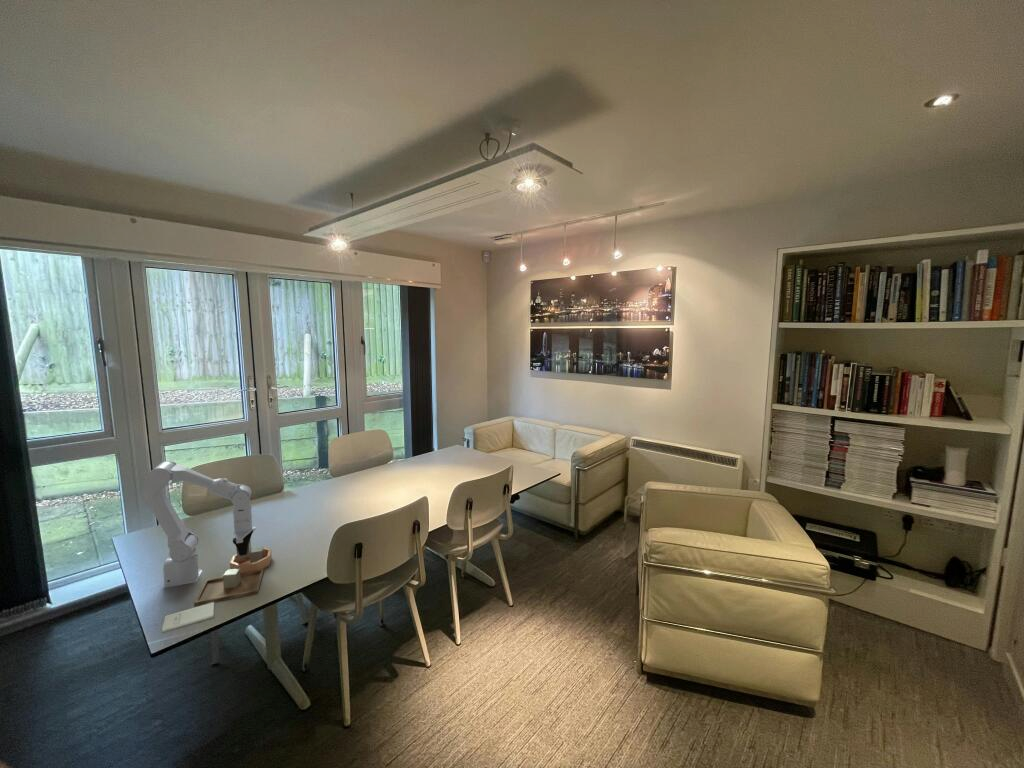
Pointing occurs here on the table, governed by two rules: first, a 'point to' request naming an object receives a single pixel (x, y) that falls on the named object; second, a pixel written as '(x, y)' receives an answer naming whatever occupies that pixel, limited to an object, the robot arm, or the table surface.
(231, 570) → the stone
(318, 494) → the table surface
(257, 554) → the stone
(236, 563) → the bowl
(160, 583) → the table surface
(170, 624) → the external hard drive
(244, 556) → the stone
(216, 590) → the tray
